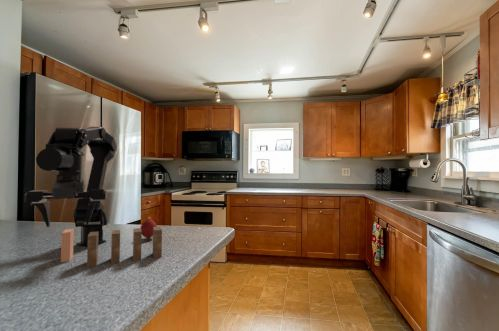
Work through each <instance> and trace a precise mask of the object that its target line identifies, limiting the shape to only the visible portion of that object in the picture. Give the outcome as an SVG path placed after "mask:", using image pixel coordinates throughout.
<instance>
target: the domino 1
mask: <svg viewBox="0 0 499 331" xmlns="http://www.w3.org/2000/svg"><path fill="white" fill-rule="evenodd" d="M86 254H87V255H86V256H87V257H86V267H87V268H90V267H96V266H97V265H98V260H99V244H98V232H90V233H89V235H88V246H87V253H86Z"/></svg>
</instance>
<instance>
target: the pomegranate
mask: <svg viewBox="0 0 499 331" xmlns="http://www.w3.org/2000/svg"><path fill="white" fill-rule="evenodd" d="M153 227H158V226H157V223H156V222H155V221H154V220H153V219H152V217H151V216H148V217H147V219H146V220H144V221H143V222H142V223H141V225H140V228H141V231H142V236H143V237H144V238H145V239H148V240H150V239H151V238H153Z"/></svg>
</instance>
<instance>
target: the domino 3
mask: <svg viewBox="0 0 499 331" xmlns="http://www.w3.org/2000/svg"><path fill="white" fill-rule="evenodd" d="M132 230H133V232H132V233H133V234H132V235H133V236H132V237H133V238H132V244H133V245H132V260H133V261H134V262H136V261H141V260H142V236H143V235H142V231H141V227H138V228H133V229H132Z"/></svg>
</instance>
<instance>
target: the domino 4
mask: <svg viewBox="0 0 499 331" xmlns="http://www.w3.org/2000/svg"><path fill="white" fill-rule="evenodd" d="M162 243H163V230H162V228H161V226H157V227H153V236H152V256H153V258H154V259H157V258H162V257H163V256H162V252H163V251H162V250H163V248H162V247H163V244H162Z"/></svg>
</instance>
